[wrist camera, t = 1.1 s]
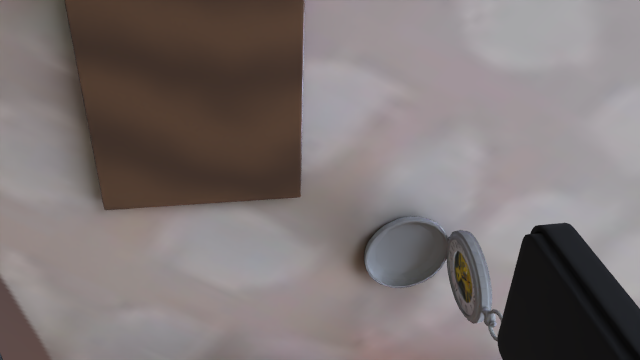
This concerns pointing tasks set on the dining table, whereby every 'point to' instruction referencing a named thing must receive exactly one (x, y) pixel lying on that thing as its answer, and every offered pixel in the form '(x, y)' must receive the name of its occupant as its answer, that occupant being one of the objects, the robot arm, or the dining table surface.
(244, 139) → the serving board
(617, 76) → the dining table surface
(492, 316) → the pocket watch
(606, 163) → the dining table surface
